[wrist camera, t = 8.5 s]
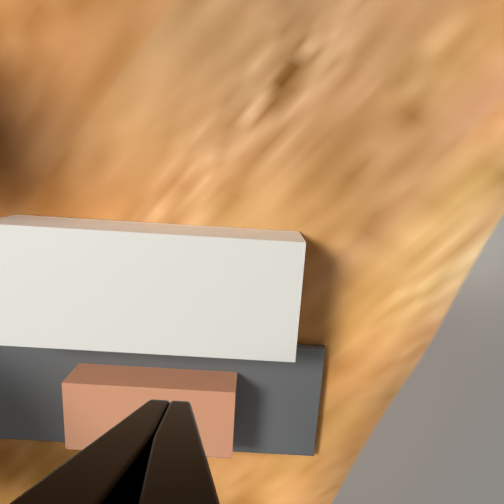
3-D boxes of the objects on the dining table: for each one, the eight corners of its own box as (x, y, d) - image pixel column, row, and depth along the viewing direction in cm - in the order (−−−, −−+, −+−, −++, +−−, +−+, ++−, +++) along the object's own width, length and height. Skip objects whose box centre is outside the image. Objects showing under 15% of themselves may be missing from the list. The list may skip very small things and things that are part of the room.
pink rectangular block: (61, 382, 20) (79, 363, 22) (65, 449, 21) (81, 424, 23) (235, 392, 20) (237, 372, 22) (232, 458, 21) (233, 433, 23)
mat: (0, 433, 23) (-4, 438, 23) (-11, 326, 22) (-15, 329, 21) (312, 451, 23) (313, 455, 23) (324, 345, 22) (325, 349, 21)
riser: (24, 320, 22) (-12, 344, 19) (16, 214, 20) (-25, 223, 17) (289, 335, 22) (295, 362, 19) (298, 231, 20) (306, 242, 17)
